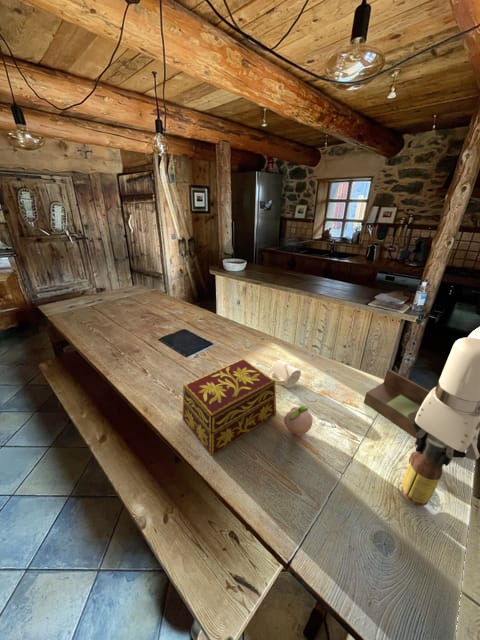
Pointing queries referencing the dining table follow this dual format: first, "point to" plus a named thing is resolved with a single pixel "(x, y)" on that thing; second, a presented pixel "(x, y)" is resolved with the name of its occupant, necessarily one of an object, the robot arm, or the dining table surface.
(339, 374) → the dining table surface
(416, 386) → the shelf
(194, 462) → the dining table surface
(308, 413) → the decorative fruit
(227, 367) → the decorative box
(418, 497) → the sauce bottle
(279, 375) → the mug
